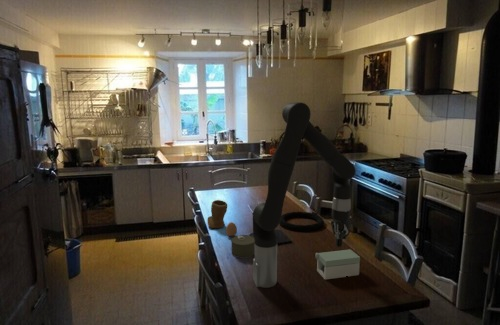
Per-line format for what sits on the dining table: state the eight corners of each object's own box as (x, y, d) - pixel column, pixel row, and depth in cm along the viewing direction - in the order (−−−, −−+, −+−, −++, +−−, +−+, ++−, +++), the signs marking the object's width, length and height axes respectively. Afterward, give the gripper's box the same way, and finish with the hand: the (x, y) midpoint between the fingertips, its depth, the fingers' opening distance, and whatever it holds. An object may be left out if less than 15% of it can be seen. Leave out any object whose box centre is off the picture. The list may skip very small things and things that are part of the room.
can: (236, 259, 167) (236, 246, 166) (227, 250, 178) (227, 237, 176) (259, 255, 172) (259, 242, 171) (249, 245, 183) (249, 233, 181)
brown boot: (228, 229, 206) (227, 204, 203) (207, 229, 204) (207, 205, 201) (226, 220, 220) (226, 197, 218) (207, 220, 219) (207, 197, 216)
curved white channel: (325, 279, 149) (325, 267, 148) (316, 270, 156) (317, 259, 155) (358, 274, 153) (359, 263, 152) (349, 266, 160) (350, 255, 159)
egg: (225, 238, 192) (225, 224, 191) (226, 234, 198) (226, 220, 197) (236, 238, 192) (236, 224, 191) (237, 234, 198) (237, 220, 197)
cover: (323, 267, 148) (323, 261, 147) (314, 257, 156) (314, 252, 156) (359, 262, 152) (360, 257, 151) (349, 253, 160) (349, 248, 160)
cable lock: (269, 218, 214) (298, 207, 235) (269, 224, 214) (297, 212, 236) (307, 230, 195) (335, 216, 217) (307, 236, 196) (334, 222, 217)
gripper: (326, 203, 155) (323, 241, 158) (340, 213, 142) (338, 253, 145) (341, 202, 156) (339, 239, 159) (357, 212, 144) (354, 252, 147)
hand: (338, 246), depth 152 cm, fingers closed
